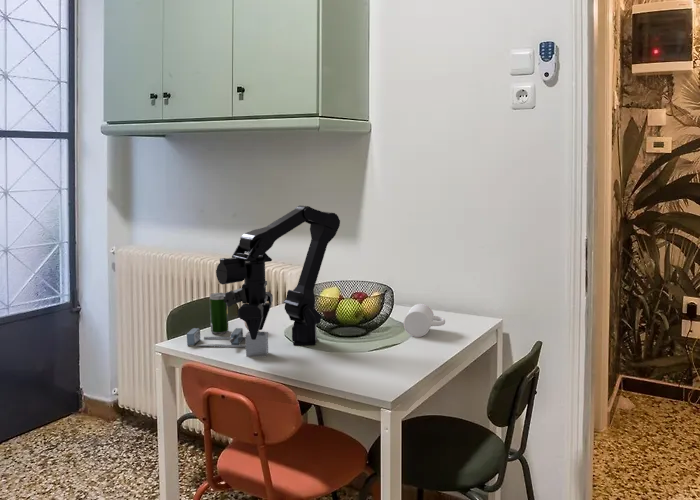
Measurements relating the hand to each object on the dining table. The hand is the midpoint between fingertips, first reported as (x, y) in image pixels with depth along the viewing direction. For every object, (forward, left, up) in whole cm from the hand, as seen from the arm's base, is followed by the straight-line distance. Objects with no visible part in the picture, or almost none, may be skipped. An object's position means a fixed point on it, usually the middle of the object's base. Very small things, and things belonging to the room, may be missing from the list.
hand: (257, 334), depth 179 cm
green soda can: (+16, -21, -6) cm, 27 cm away
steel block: (0, 0, -6) cm, 6 cm away
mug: (-48, -22, -6) cm, 53 cm away
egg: (+6, -22, -6) cm, 24 cm away
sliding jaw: (+8, -9, -5) cm, 13 cm away
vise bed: (+14, -10, -6) cm, 18 cm away
